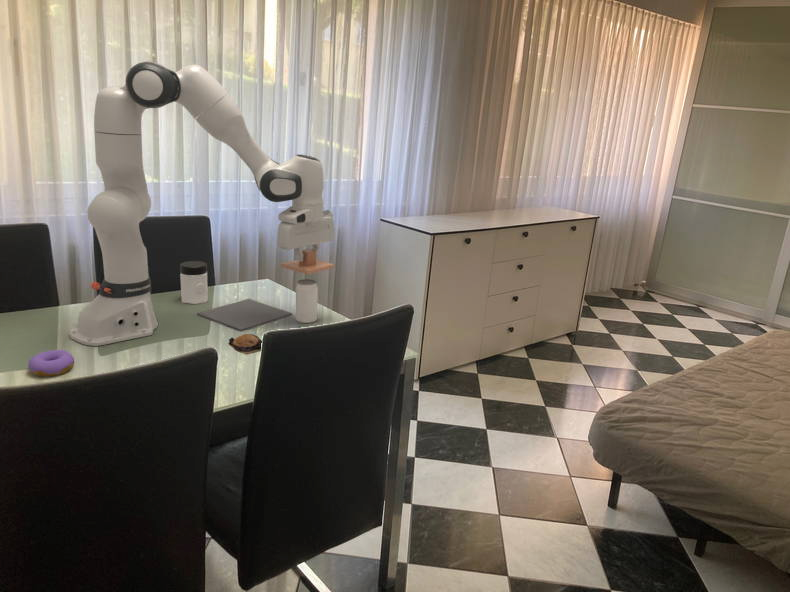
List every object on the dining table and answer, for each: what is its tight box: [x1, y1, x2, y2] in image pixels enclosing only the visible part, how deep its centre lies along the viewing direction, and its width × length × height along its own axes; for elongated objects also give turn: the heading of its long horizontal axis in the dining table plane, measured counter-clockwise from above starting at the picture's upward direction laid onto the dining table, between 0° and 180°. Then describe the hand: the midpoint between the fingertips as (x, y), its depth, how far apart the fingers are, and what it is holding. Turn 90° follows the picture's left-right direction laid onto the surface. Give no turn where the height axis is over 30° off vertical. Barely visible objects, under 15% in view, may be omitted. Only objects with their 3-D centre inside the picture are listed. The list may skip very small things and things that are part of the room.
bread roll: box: [227, 333, 263, 355], centre depth 163 cm, size 11×8×4 cm
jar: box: [179, 260, 209, 305], centre depth 195 cm, size 9×8×12 cm
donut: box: [27, 349, 75, 377], centre depth 143 cm, size 10×9×5 cm
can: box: [295, 278, 319, 324], centre depth 183 cm, size 6×6×12 cm
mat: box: [196, 298, 293, 332], centre depth 186 cm, size 20×20×1 cm
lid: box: [280, 248, 335, 275], centre depth 179 cm, size 11×11×5 cm
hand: (307, 259), depth 179 cm, fingers closed on lid, 3 cm apart
